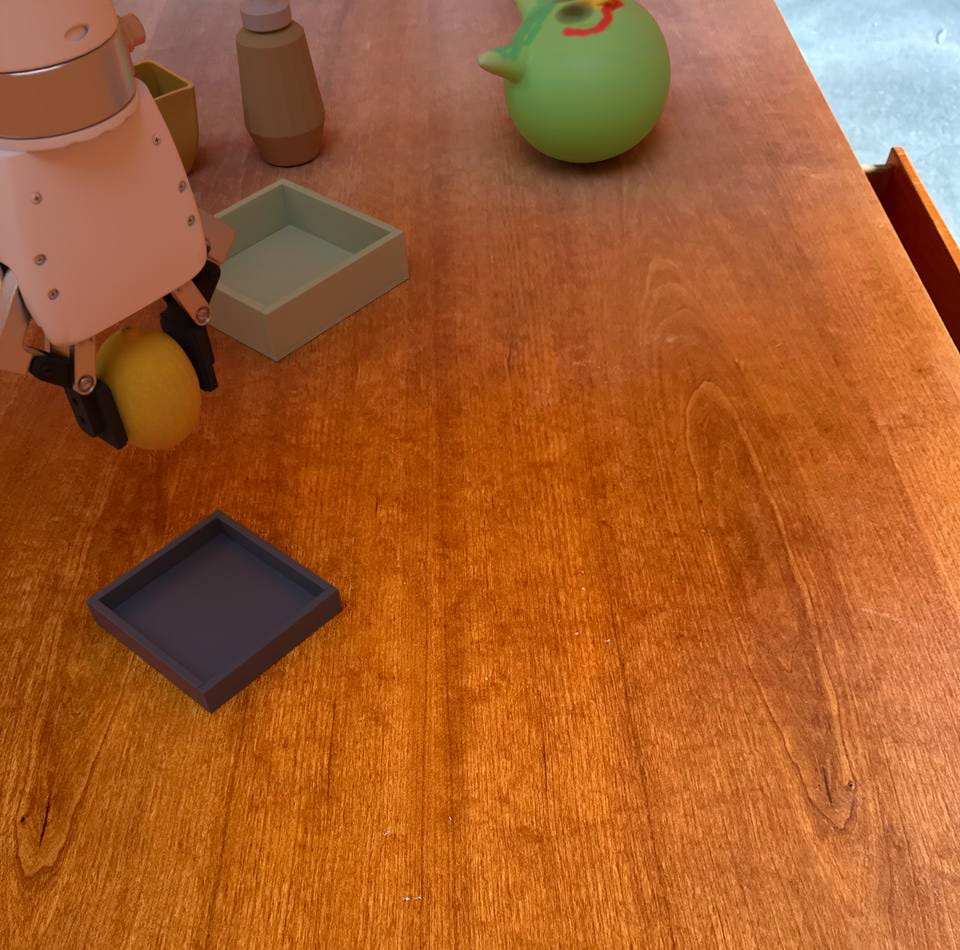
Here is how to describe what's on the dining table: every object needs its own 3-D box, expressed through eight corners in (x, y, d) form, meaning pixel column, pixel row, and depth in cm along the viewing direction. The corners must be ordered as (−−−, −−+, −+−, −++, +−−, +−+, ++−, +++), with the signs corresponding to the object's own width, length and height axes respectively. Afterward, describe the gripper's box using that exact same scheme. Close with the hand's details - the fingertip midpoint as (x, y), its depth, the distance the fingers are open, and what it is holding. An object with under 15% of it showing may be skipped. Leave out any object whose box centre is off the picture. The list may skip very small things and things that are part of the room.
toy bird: (660, 195, 110) (670, 31, 99) (482, 191, 113) (473, 30, 102) (670, 107, 122) (680, -49, 111) (508, 105, 124) (503, -48, 113)
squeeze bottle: (280, 182, 116) (241, -15, 103) (236, 154, 120) (194, -38, 107) (346, 153, 119) (318, -41, 106) (302, 127, 124) (269, -63, 110)
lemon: (234, 433, 68) (201, 313, 62) (172, 490, 65) (131, 370, 59) (161, 407, 70) (123, 288, 64) (98, 461, 67) (52, 342, 61)
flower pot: (173, 145, 123) (150, 56, 116) (217, 174, 118) (195, 83, 111) (98, 175, 119) (69, 85, 112) (139, 206, 115) (112, 114, 108)
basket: (159, 297, 104) (145, 251, 100) (291, 223, 111) (282, 177, 107) (276, 362, 96) (265, 314, 93) (409, 277, 103) (404, 230, 100)
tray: (94, 620, 78) (85, 600, 77) (224, 529, 83) (218, 508, 82) (211, 714, 72) (203, 693, 71) (343, 609, 77) (338, 588, 76)
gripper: (148, -3, 58) (228, 315, 72) (-174, 132, 50) (-16, 461, 64) (247, 32, 54) (312, 360, 68) (-83, 183, 47) (64, 520, 60)
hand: (152, 406), depth 66 cm, fingers closed on lemon, 5 cm apart
